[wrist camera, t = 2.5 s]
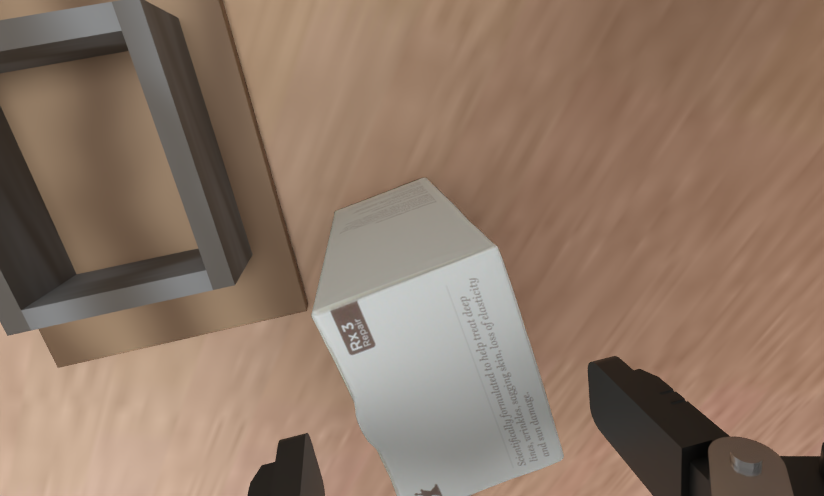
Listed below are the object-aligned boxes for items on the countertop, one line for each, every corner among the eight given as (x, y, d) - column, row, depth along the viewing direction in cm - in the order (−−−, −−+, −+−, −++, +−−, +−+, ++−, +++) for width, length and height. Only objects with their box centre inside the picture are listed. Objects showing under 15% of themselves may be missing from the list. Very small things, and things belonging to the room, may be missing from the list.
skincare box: (465, 292, 29) (580, 467, 15) (376, 327, 29) (410, 537, 15) (422, 167, 26) (514, 241, 12) (323, 205, 26) (304, 323, 12)
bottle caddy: (199, -80, 21) (155, -139, 16) (307, 303, 28) (300, 349, 23) (-123, -30, 20) (-282, -76, 15) (68, 358, 27) (2, 420, 21)
